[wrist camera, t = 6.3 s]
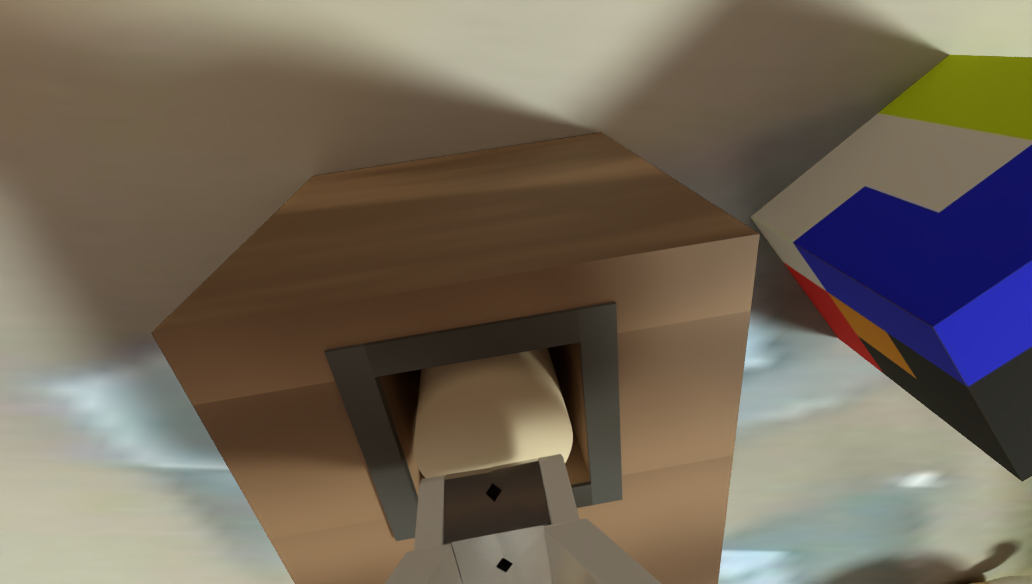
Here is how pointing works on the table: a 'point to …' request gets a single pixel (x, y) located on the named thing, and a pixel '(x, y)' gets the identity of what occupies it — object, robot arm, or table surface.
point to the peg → (490, 414)
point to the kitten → (1009, 580)
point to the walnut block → (476, 345)
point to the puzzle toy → (930, 247)
